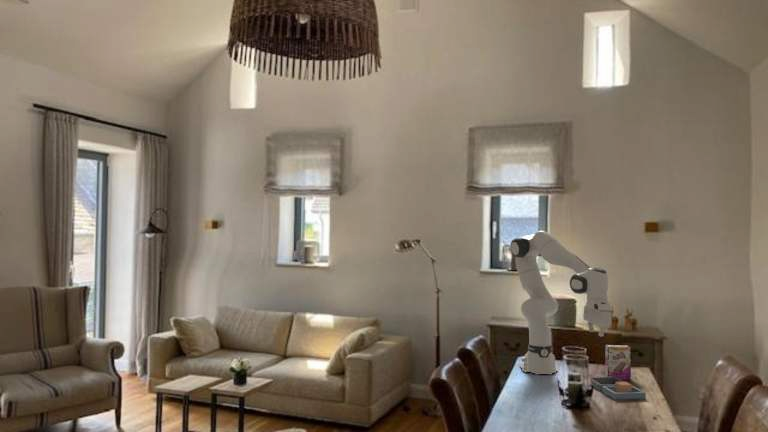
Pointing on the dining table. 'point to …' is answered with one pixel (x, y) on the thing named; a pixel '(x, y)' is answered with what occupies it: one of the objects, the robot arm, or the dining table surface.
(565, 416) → the dining table surface
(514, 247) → the robot arm
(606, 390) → the slate tray
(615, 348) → the candy bar box
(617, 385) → the terracotta block
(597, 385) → the charcoal bin
